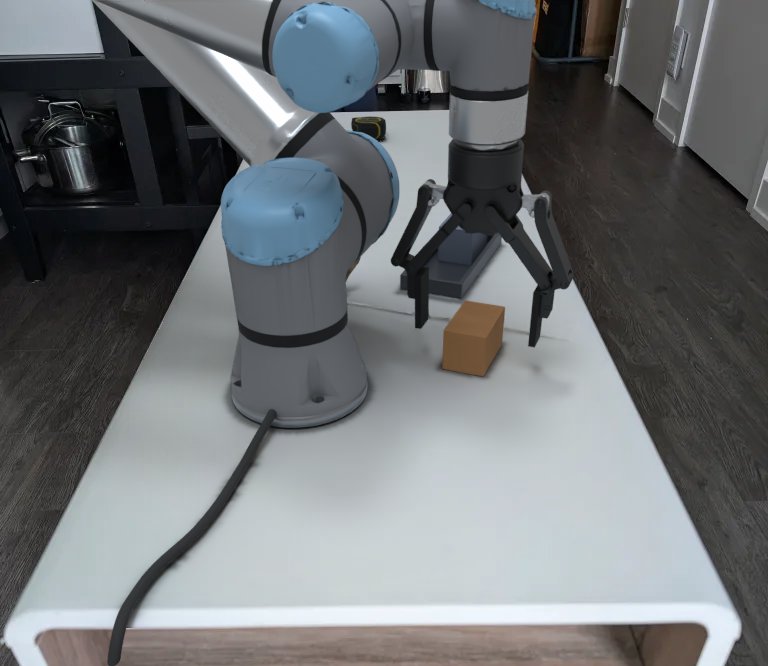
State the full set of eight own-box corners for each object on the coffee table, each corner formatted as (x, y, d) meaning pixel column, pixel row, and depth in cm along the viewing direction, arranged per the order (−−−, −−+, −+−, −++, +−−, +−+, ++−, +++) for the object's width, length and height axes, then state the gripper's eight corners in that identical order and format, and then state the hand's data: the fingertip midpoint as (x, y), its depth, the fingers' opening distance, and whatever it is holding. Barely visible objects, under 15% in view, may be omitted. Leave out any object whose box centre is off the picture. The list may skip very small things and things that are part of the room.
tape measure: (384, 133, 165) (384, 113, 162) (387, 142, 159) (387, 122, 157) (351, 134, 164) (350, 115, 162) (353, 144, 159) (352, 124, 157)
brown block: (483, 376, 92) (486, 337, 88) (442, 369, 93) (443, 330, 90) (502, 344, 97) (505, 306, 94) (462, 337, 99) (464, 300, 95)
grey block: (471, 265, 113) (472, 231, 110) (437, 260, 115) (438, 226, 112) (486, 244, 119) (489, 211, 116) (455, 240, 120) (456, 206, 117)
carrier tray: (461, 302, 106) (461, 284, 104) (400, 292, 108) (400, 274, 107) (501, 246, 120) (502, 229, 118) (446, 238, 122) (446, 222, 121)
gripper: (620, 138, 78) (590, 334, 92) (384, 119, 85) (389, 303, 99) (606, 161, 73) (577, 365, 86) (356, 139, 80) (365, 330, 94)
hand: (476, 332), depth 93 cm, fingers open, 13 cm apart
